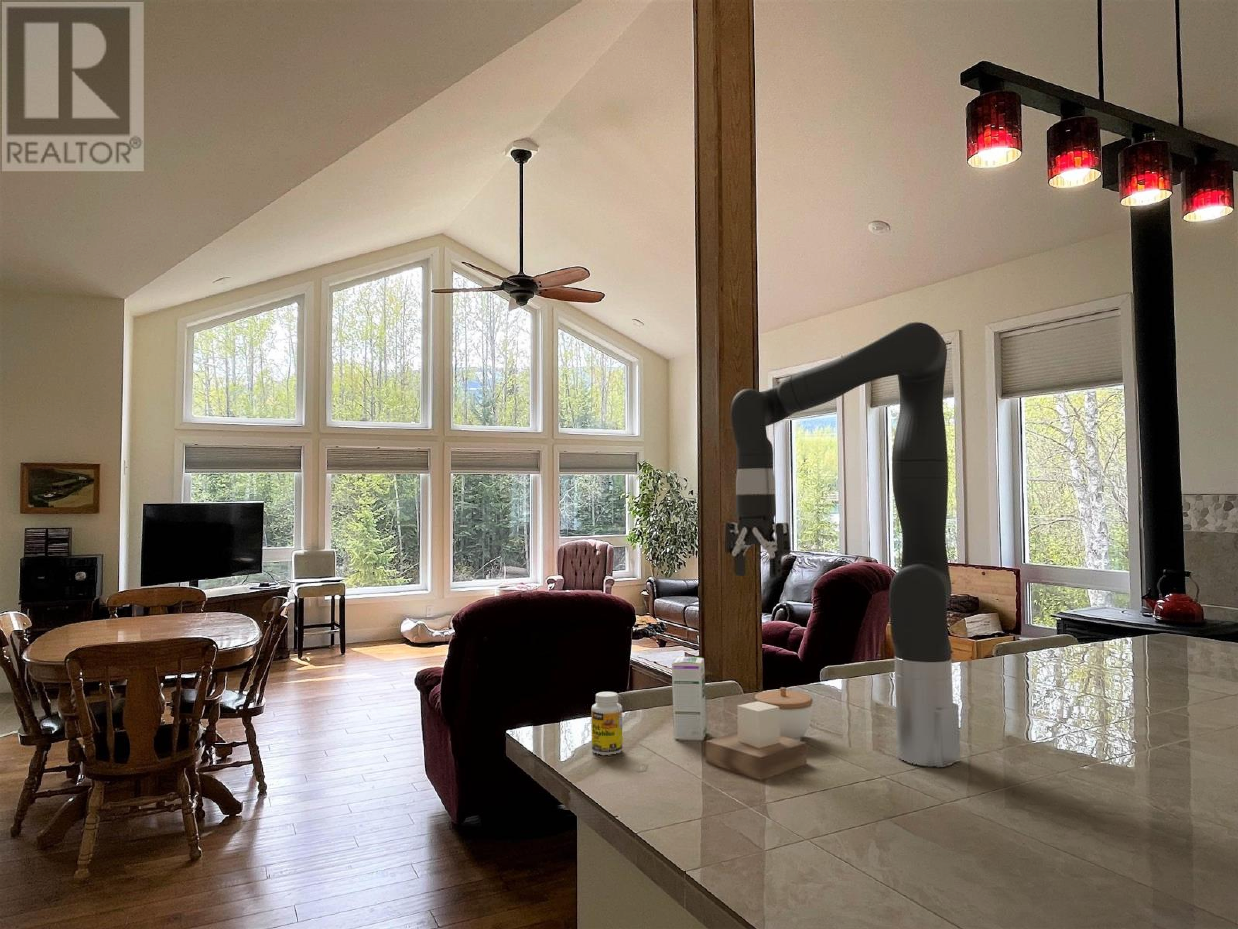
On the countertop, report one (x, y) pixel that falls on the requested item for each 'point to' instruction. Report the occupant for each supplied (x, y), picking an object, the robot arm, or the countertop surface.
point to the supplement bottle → (606, 724)
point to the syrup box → (689, 698)
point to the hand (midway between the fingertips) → (757, 576)
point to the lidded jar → (790, 711)
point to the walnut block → (755, 756)
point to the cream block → (758, 724)
